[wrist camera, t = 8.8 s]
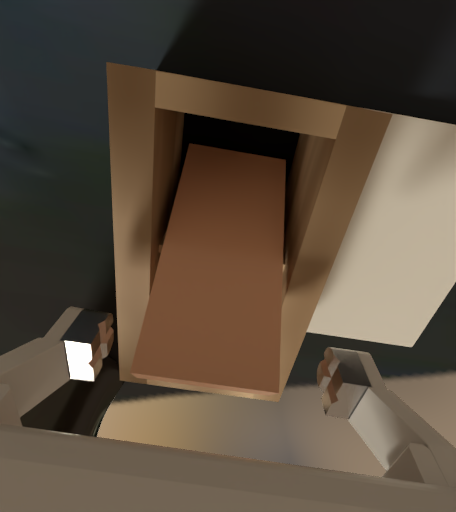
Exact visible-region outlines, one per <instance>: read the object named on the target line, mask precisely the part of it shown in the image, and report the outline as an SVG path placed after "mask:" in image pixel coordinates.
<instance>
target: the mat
mask: <svg viewBox="0 0 456 512" xmlns="http://www.w3.org/2000/svg"><path fill="white" fill-rule="evenodd" d="M359 108H360V107H359ZM364 109H366V108H364ZM369 110H371V109H369ZM374 111H377V110H374ZM379 112H382V111H379ZM384 113H388V112H384ZM389 114H393V113H389ZM455 282H456V125H454V124H448V123H443V122H437V121H432V120H426V119H421V118H415V117H410V116H404V115H399V114H393V115H392V117H391V120H390V122H389V125H388V127H387V130H386V132H385V135H384V137H383V140H382V142H381V145H380V148H379V150H378V153H377V155H376V158H375V160H374V163H373V165H372V168H371V170H370V173H369V175H368V178H367V180H366V183H365V185H364V188H363V190H362V193H361V195H360V198H359V200H358V203H357V205H356V208H355V210H354V213H353V216H352V218H351V221H350V223H349V226H348V228H347V231H346V233H345V236H344V238H343V241H342V243H341V246H340V248H339V251H338V253H337V256H336V258H335V261H334V263H333V266H332V268H331V271H330V273H329V276H328V279H327V281H326V284H325V286H324V289H323V291H322V294H321V296H320V299H319V301H318V304H317V306H316V309H315V311H314V314H313V316H312V319H311V321H310V324H309V326H308V329H307V331H306V332H312V333H319V334H326V335H332V336H339V337H346V338H353V339H359V340H366V341H373V342H380V343H387V344H393V345H400V346H407V347H412V346H413V345H414V343H415V342H416V340H417V339H418V337H419V336H420V334H421V333H422V331H423V330H424V328H425V327H426V325H427V324H428V322H429V321H430V319H431V318H432V316H433V315H434V313H435V312H436V310H437V309H438V307H439V306H440V304H441V303H442V301H443V300H444V298H445V297H446V295H447V294H448V292H449V291H450V289H451V288H452V286H453V285H454V283H455Z"/></svg>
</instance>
